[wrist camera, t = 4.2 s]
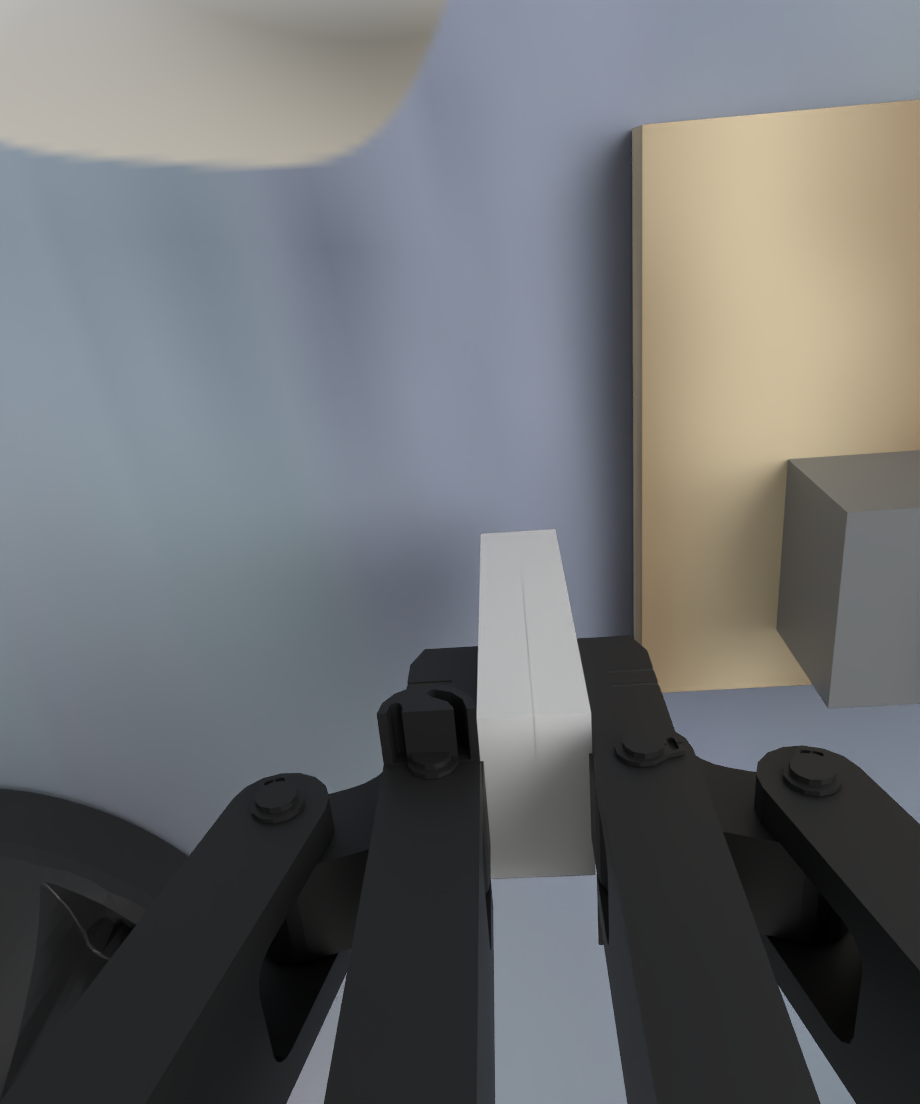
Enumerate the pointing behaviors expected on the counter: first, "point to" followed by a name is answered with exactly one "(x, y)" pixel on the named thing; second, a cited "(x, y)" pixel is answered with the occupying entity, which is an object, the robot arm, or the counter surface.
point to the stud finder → (853, 576)
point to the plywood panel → (760, 358)
